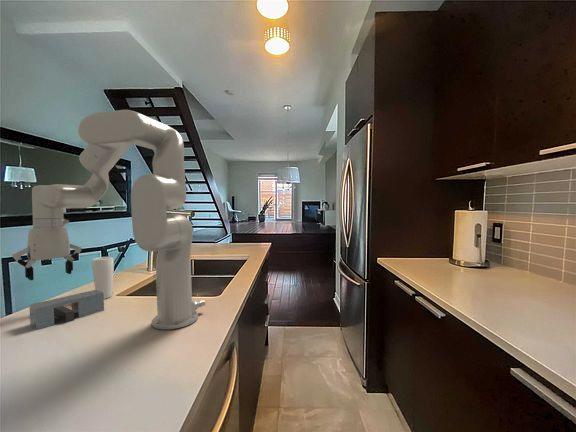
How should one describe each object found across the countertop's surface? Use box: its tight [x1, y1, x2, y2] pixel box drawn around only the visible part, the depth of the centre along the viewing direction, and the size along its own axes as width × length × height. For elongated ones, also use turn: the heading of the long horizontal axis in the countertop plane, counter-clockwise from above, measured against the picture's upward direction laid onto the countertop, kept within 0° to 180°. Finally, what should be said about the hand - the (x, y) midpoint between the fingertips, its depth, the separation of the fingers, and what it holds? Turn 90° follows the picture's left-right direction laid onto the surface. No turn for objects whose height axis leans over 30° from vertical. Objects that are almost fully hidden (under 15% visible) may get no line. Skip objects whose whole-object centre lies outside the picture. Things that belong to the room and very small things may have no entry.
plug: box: [54, 297, 75, 324], centre depth 87 cm, size 4×17×4 cm, turn 58°
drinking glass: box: [91, 256, 115, 300], centre depth 105 cm, size 7×7×15 cm
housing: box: [28, 289, 105, 331], centre depth 86 cm, size 17×6×6 cm, turn 145°
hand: (50, 276), depth 90 cm, fingers open, 9 cm apart
